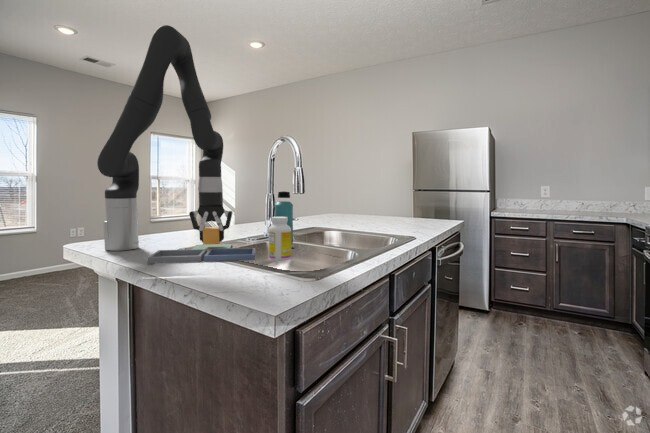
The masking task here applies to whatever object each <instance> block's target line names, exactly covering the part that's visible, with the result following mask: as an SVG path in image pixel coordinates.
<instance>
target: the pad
mask: <svg viewBox="0 0 650 433" xmlns="http://www.w3.org/2000/svg"><path fill="white" fill-rule="evenodd" d="M232 246H233V244H232V243H222V244H221V243H219V244H204V245H203V244H196V245H195V246H193V248H192V249H207V252H208V250H209V249H232Z"/></svg>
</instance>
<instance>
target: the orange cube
mask: <svg viewBox="0 0 650 433" xmlns="http://www.w3.org/2000/svg"><path fill="white" fill-rule="evenodd" d="M219 231H220V229H219V227H218V226H217V227H215V226H211V227H210V226H208V227H206V226H205V228H204V229H203V242H202V245H209V244H221V242H220V241H219Z"/></svg>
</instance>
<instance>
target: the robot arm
mask: <svg viewBox="0 0 650 433" xmlns="http://www.w3.org/2000/svg"><path fill="white" fill-rule="evenodd" d="M170 65H172V68H173V70H174V71H175V73H176V74H177V78H178V81H179V86H180V96H181V101H182V104H183V107H184V109H185V112H186V115H187V117H188V119H189V122H190V124H189V125H190V129H191V133H192V137H193V141H194V142H195V145H196V147H198V148H199V149H201V150H202V159H200V160H199V162H198V177H199V178H198V186H197V188H198V189H197V190H198V208H197V210H194V211H193V210H192V211H190V212H189V213H188V216H189V218H190V221H191V225H192V228H193V229H194V230H196V231H198V233H199V240H200V241H201V243H203V229H204V228H205V227H206V225H207V223H208V222H214V223H216V225H217V227H219V229H220V231H219V241H220V243H222V242H223V241H224V239H225V230H228V229H229V228H230V226H231V220H232V217H233V210H226V209H225V208H224V197H223V196H224V195H223V192H224V191H223V180H222V158H223V154H224V141H223V140H224V139H223V137H222V135H221V134H220V132H218V131H216V130H214V128H213V125H212V122H211V120H212V114H211V111H210V107H209V104H208V102H207V100H206V97H205V95H204V93H203V90H202V87H201V85H200V82H199V78H198V74H197V70H196V66H195V62H194V57H193V51H192V48H191V45H190V42H189V40H188V39H187V38H186V37H185V36H184V35H183V34H182V33H181V32H180V31H178V30H177V29H176V28H175V27H173V26H172V25H167V24H164V25H161V26H159V27H157V29H156V30H154V33H153V34H152V36H151V38H150V42H149V45H148V48H147V51H146V55H145V58H144V60H143V62H142V67H141V69H140V71H139V73H138V76H137V77H136V80H135V83H134V85H133V87H132V88H131V91H130V93H129V95H128V98H127V101H126V102H125V103H124V107H123V110H122V112H121V114H120V116H119V117H118V120H117V122H116V125H115V127H114V129H113V131H112V133H111V134H110V135H109V138H108V139H107V141H106V142H105V144H104V146H103V147H102V149H101V151H100V153H99V155H98V158H97V162H96V163H97V169H98V171H99V172H100V173H101V175H102V176H104V177H108V178H112V181H111V182H112V183H111V184H110V186H109V187H107V188H105V190H104V202H105V204H104V205H105V220H104V221H103V237H104V238H103V239H104V250H105V251H112V252H113V251H116V252H117V251H118V252H119V251H121V252H122V251H130V250H134V249H135V250H136V249H138V248H139V244H140V243H139V224H138V223H139V222H138V221H139V220H138V202H137V201H138V200H137V198H138V197H137V193H138V191H139V188H140V187H139V185H140V167H139V160H138V158H137V156H136V155H135V154H134V153H133V152H131V150H132V148H133V145H134V143H135V142H136V141H137V139H138V138H139V137H140V136H141V135H142V134H143V133H145V131H146V130H148V129H149V128H150V126H152V124H153V123H154V122H155V120H156V118H157V116H158V115H159V113H160V111H161V110H160V109H161V108H162V104H163V100H164V85H165V84H164V83H165V77H166V74H167V71H168V69H169V67H170ZM198 214H199V216H200V217H201V218H202V220H201V223H200V225H199V224H198V220H197V217H198ZM223 215H224V216H225V217H226V221H225V225H223V221H222V219H221V218H222V217H223Z"/></svg>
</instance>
